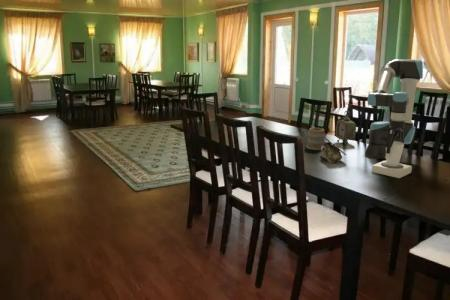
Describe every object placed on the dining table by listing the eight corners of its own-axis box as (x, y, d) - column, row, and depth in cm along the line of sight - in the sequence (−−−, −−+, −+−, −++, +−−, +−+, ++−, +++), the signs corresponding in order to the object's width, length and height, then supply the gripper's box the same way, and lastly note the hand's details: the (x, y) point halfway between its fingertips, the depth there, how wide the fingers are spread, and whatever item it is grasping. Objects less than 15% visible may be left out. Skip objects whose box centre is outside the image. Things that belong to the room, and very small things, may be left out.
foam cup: (400, 163, 228) (403, 141, 224) (401, 167, 219) (404, 145, 216) (383, 161, 231) (385, 140, 228) (383, 166, 222) (386, 143, 219)
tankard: (326, 150, 277) (327, 129, 273) (308, 149, 277) (309, 129, 273) (320, 144, 296) (321, 124, 293) (303, 143, 296) (304, 124, 293)
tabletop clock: (334, 141, 305) (337, 109, 299) (345, 141, 307) (347, 109, 302) (344, 145, 292) (347, 112, 286) (355, 145, 294) (358, 112, 288)
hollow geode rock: (325, 160, 269) (311, 144, 267) (340, 148, 266) (325, 131, 265) (332, 170, 241) (316, 152, 240) (349, 157, 239) (333, 139, 237)
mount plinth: (371, 171, 226) (372, 164, 225) (384, 166, 237) (384, 159, 236) (399, 178, 215) (400, 170, 214) (411, 172, 226) (412, 165, 225)
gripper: (394, 123, 208) (390, 162, 213) (413, 118, 224) (408, 154, 229) (381, 121, 213) (376, 159, 218) (400, 117, 230) (395, 152, 235)
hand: (393, 157), depth 224 cm, fingers open, 13 cm apart
